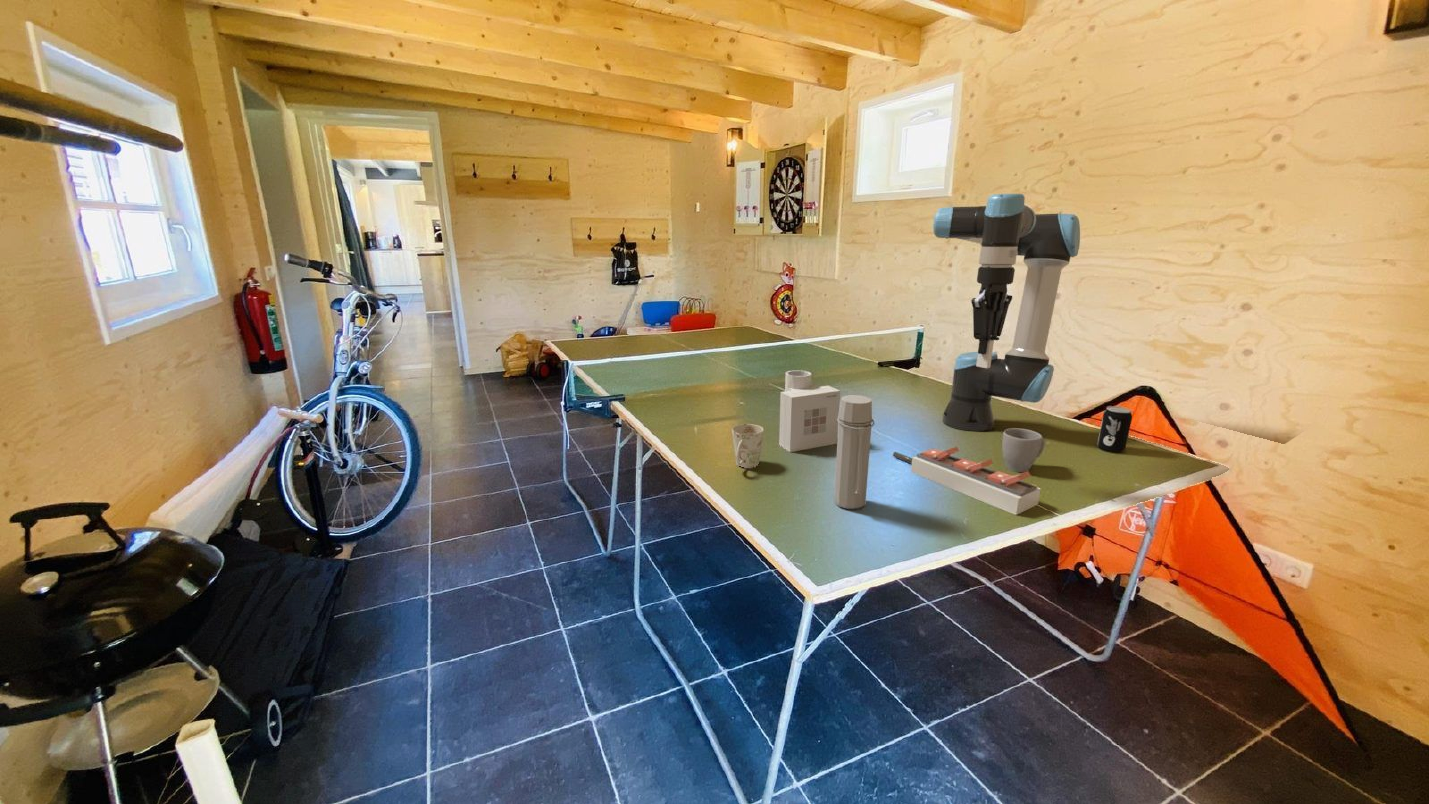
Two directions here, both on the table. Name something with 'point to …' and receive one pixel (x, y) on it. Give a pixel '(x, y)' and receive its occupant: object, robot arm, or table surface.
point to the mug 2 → (1021, 448)
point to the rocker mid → (971, 465)
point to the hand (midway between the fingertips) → (983, 366)
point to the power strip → (975, 483)
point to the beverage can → (1114, 429)
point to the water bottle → (853, 451)
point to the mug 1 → (747, 444)
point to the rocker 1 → (939, 453)
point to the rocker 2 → (1006, 478)
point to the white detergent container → (807, 413)
